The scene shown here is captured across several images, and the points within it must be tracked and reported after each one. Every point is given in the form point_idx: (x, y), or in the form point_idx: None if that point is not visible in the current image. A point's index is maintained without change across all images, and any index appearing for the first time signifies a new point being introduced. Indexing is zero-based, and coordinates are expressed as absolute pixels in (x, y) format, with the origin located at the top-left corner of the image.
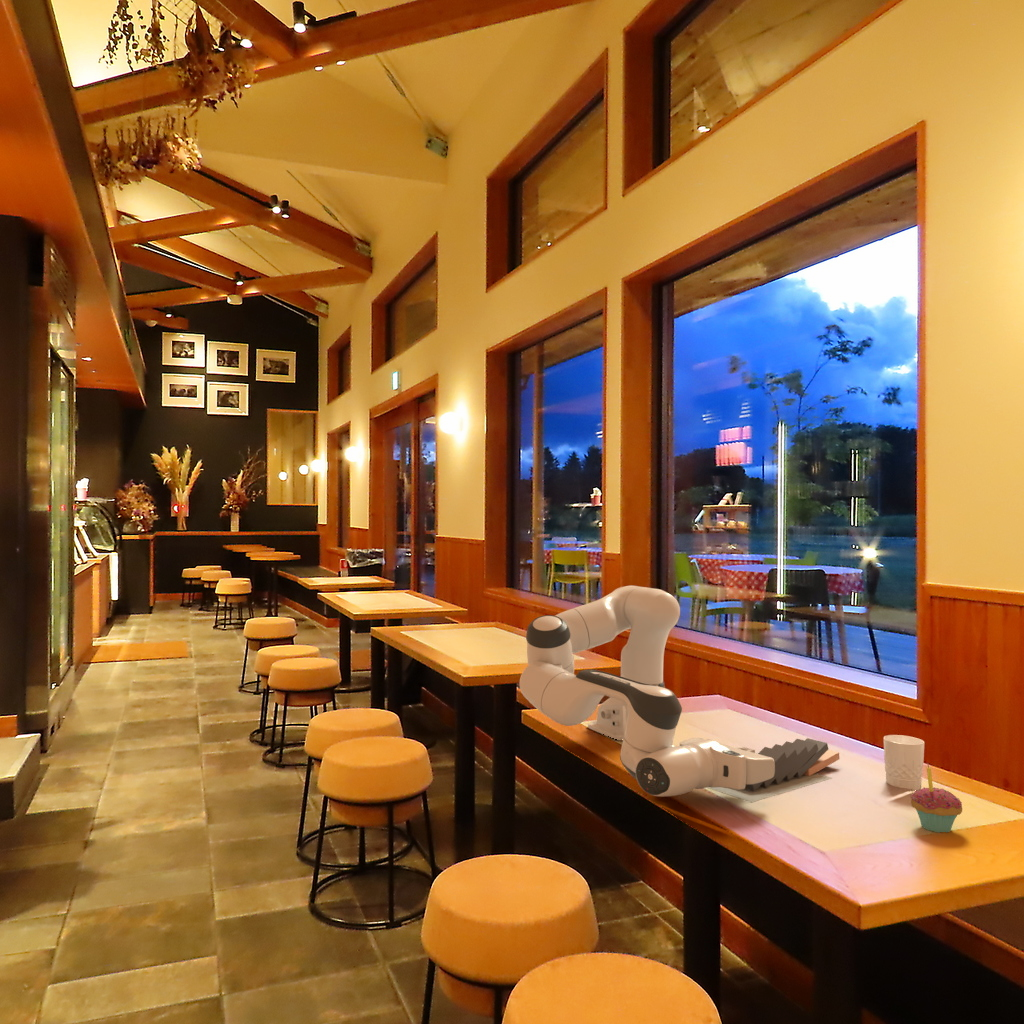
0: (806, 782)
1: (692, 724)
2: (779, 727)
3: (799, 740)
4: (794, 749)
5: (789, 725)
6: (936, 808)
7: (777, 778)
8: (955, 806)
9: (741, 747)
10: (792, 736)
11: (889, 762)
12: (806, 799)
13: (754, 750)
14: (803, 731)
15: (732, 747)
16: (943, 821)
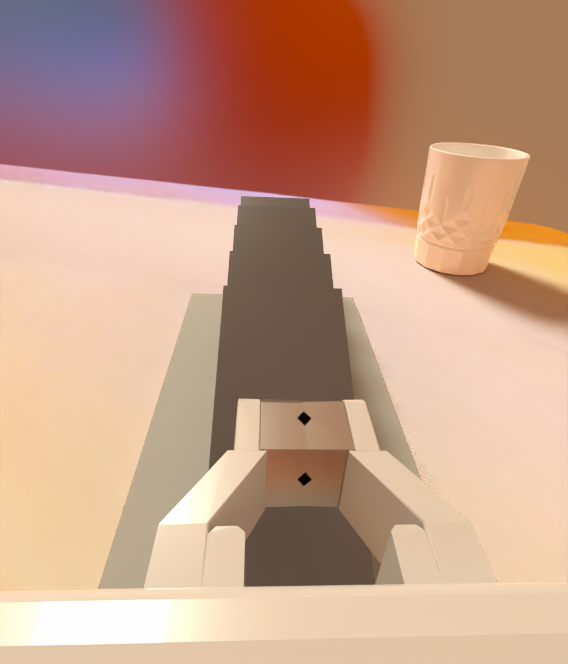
0: (353, 355)
1: None
2: (47, 185)
3: (252, 210)
4: (327, 256)
5: (61, 178)
6: None
7: None
8: None
9: (250, 425)
10: (93, 199)
11: (464, 216)
12: (496, 470)
13: (362, 402)
14: (100, 184)
15: (348, 653)
16: None
